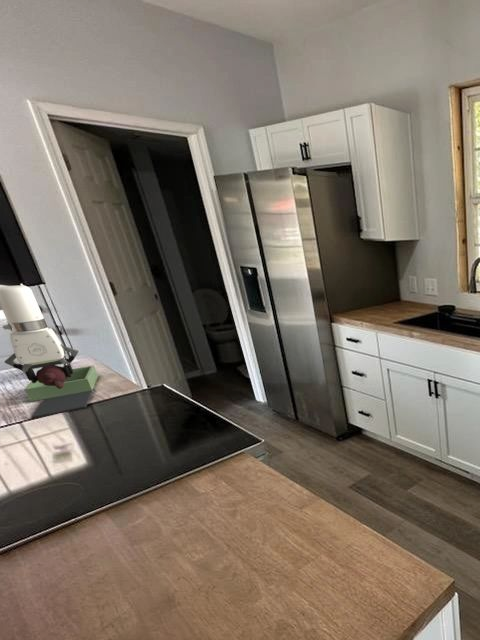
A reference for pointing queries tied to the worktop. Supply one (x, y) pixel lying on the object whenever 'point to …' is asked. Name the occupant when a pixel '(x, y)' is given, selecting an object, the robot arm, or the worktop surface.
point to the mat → (62, 404)
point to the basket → (64, 385)
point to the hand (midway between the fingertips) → (53, 378)
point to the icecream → (52, 376)
